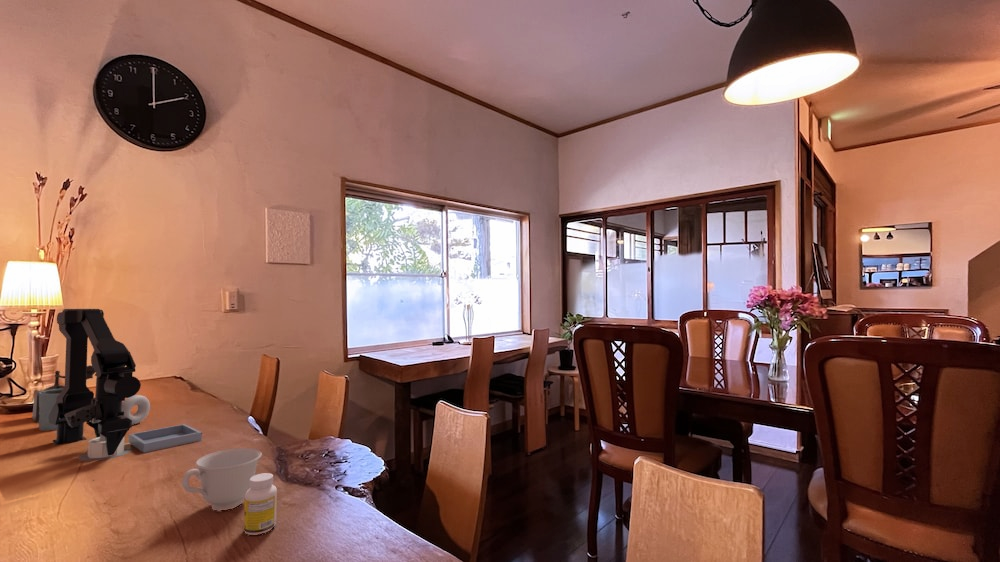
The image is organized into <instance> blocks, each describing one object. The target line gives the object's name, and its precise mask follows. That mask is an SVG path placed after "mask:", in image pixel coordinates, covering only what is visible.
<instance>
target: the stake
mask: <svg viewBox="0 0 1000 562" xmlns="http://www.w3.org/2000/svg"><path fill="white" fill-rule="evenodd" d="M100 441H105V436H103V435H101V434H100ZM132 451H133V448H132V447H131V449H129V450H124V451H123V452H121V453H119V454H117V455H114V456H109V457H104V458H103V457H102V458H89V457H88V452H85V453H83V454H81V455H79V456H78V458H77V459H78V460H79V461H82V462H96V461H104V460H110V459H114V458H117V457H118V458H119V457H122V456H124V455H127V454H129V453H131V452H132Z"/></svg>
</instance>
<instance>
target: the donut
mask: <svg viewBox="0 0 1000 562" xmlns="http://www.w3.org/2000/svg"><path fill="white" fill-rule="evenodd" d="M134 406H137V410H136V411H135V413H134V414H132V409H133V407H134ZM150 409H151V402H150V401H149V399H148V398H147V396H145V395H142V394H135V395H134V396H132V397H129V398H125V401H123V402H122V411H124V416H126V417H127V418H129V419H130V420H132V426H133V425H134V424H135V425H137V424H140V423H141V422H142V421H143V420H145V419H146V418H147V417H148V415H149V413H150ZM118 417H119V416H118Z"/></svg>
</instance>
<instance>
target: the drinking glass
mask: <svg viewBox="0 0 1000 562" xmlns="http://www.w3.org/2000/svg"><path fill="white" fill-rule="evenodd" d="M63 389H64V388H61V389H51V390H45V389H44V390H45V391H42V390H40V391H41V392H39V408H40V409H39V410H40V411H39V415H40V417H39V422H38V430H39V431H41V430H43V432H47V431H48V432H50V431H49V430H52V431H57V425H53V424H51V423H49V417H48V416H49V414H50V412H51V410H52V408H53V407H54V405H55V404H56V398H57V396H58V395H59V394H60V393H61V391H62V390H63ZM59 419H60V418H59ZM44 430H45V431H44Z"/></svg>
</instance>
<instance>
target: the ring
mask: <svg viewBox="0 0 1000 562" xmlns="http://www.w3.org/2000/svg"><path fill="white" fill-rule="evenodd" d="M87 441H88V442H87V443H88V444H87V453H88V457H89V458H102V457H103V458H104V457H109V456H114V455H117V454H119V453H121V452H123V451H124V450H129V449H131V448H132V447H131V443H129V441H128V442H125V436H124V437H123V439H122V441H121V442H120V444H119V446H118V447H117V449H116V451H115V453H114V454H113V455H108V453H107V447H106V441H100V437H97V438H96V437H94V438H92V439H89V440H87Z"/></svg>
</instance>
